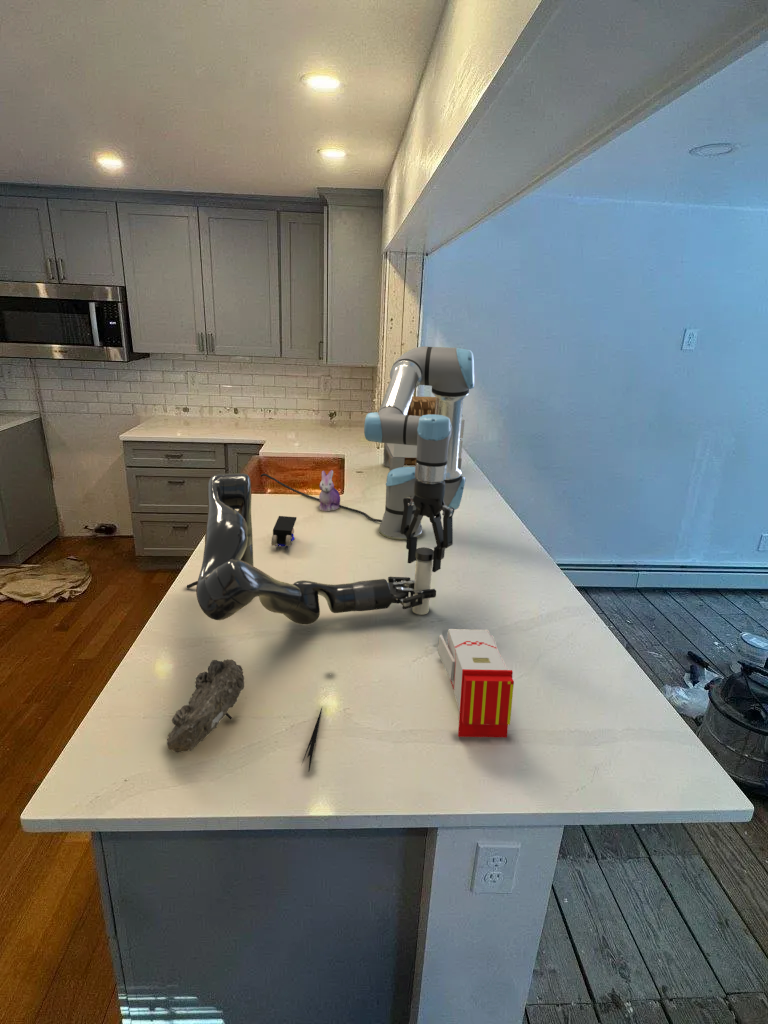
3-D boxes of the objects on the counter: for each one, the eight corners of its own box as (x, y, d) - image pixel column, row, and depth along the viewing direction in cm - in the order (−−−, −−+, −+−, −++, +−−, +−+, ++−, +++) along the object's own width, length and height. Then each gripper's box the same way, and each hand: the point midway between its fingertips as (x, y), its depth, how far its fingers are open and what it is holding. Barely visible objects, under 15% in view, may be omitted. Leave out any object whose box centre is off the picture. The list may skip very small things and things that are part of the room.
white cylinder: (430, 614, 148) (435, 556, 143) (414, 615, 147) (418, 557, 142) (425, 606, 152) (430, 550, 147) (410, 607, 151) (414, 550, 146)
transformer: (382, 463, 289) (386, 382, 275) (445, 464, 293) (451, 384, 279) (390, 482, 257) (394, 392, 243) (460, 483, 261) (468, 394, 247)
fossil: (192, 660, 117) (244, 628, 112) (224, 691, 120) (276, 661, 115) (142, 746, 98) (202, 712, 93) (182, 779, 101) (242, 748, 96)
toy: (488, 613, 130) (523, 677, 101) (484, 667, 133) (517, 744, 104) (435, 612, 130) (455, 676, 101) (432, 666, 133) (451, 743, 103)
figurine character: (291, 556, 181) (297, 534, 194) (291, 536, 177) (297, 514, 191) (270, 556, 181) (278, 533, 194) (269, 535, 177) (277, 513, 191)
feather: (331, 679, 122) (336, 673, 122) (307, 777, 96) (313, 769, 95) (324, 675, 122) (329, 669, 121) (298, 772, 95) (304, 764, 95)
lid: (428, 552, 147) (428, 546, 147) (437, 559, 143) (437, 553, 143) (412, 554, 146) (412, 548, 145) (420, 562, 142) (420, 555, 141)
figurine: (322, 513, 216) (323, 475, 211) (313, 504, 224) (313, 468, 219) (345, 510, 220) (346, 473, 215) (335, 502, 229) (335, 466, 223)
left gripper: (361, 595, 151) (421, 588, 156) (376, 622, 138) (441, 614, 143) (362, 569, 149) (423, 564, 154) (377, 595, 136) (443, 588, 141)
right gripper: (473, 485, 135) (464, 572, 143) (405, 468, 146) (401, 550, 154) (457, 492, 129) (449, 582, 137) (388, 474, 140) (384, 559, 148)
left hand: (431, 588), depth 148 cm, fingers closed on white cylinder, 4 cm apart
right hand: (423, 565), depth 145 cm, fingers open, 7 cm apart
